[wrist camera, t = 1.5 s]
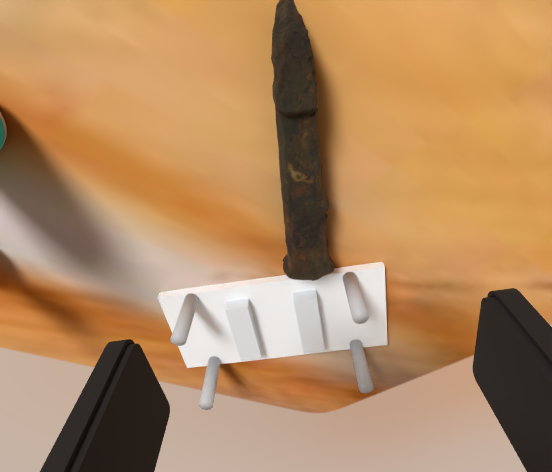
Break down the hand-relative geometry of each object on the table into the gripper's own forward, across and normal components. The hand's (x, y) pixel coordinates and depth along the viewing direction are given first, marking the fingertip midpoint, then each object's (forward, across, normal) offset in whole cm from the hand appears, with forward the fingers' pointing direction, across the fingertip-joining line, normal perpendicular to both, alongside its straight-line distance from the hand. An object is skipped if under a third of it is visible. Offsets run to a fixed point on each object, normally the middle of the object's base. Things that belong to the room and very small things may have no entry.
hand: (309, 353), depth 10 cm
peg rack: (+19, +4, +16) cm, 25 cm away
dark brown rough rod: (+20, 0, 0) cm, 20 cm away
